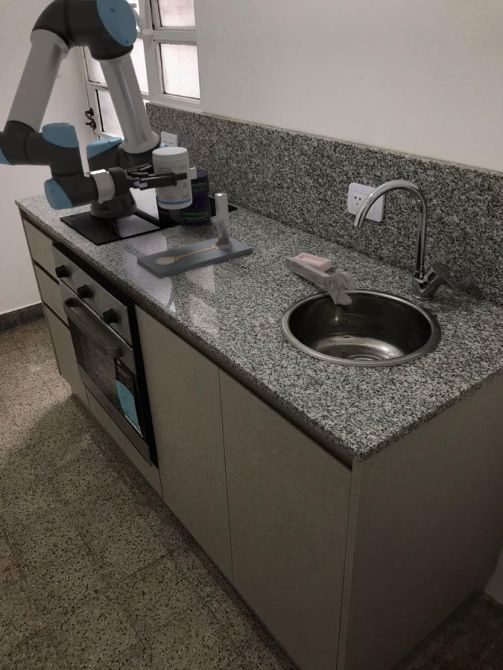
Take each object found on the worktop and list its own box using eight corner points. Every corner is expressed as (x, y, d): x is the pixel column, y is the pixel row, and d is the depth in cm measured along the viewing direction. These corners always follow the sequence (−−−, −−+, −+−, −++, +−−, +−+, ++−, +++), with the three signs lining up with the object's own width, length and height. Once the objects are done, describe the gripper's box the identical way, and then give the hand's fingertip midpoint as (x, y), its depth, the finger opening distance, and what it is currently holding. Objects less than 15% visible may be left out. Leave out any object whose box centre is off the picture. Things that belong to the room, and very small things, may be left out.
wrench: (291, 276, 143) (356, 312, 117) (285, 278, 142) (349, 314, 117) (290, 246, 140) (356, 275, 114) (283, 247, 139) (349, 277, 114)
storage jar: (176, 219, 177) (172, 172, 169) (206, 215, 180) (202, 168, 172) (184, 228, 169) (180, 179, 161) (215, 224, 172) (212, 175, 164)
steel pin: (212, 244, 153) (208, 194, 146) (226, 241, 155) (223, 191, 148) (221, 249, 150) (218, 198, 143) (235, 245, 152) (233, 194, 145)
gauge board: (137, 262, 146) (136, 257, 146) (226, 239, 160) (226, 234, 159) (159, 278, 137) (159, 273, 136) (252, 251, 151) (252, 247, 150)
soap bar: (320, 275, 137) (320, 266, 136) (290, 266, 142) (290, 258, 141) (332, 268, 140) (332, 259, 139) (302, 260, 145) (302, 251, 144)
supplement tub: (161, 200, 158) (154, 146, 150) (194, 199, 158) (189, 145, 150) (155, 211, 149) (148, 155, 142) (190, 210, 149) (185, 153, 142)
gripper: (95, 189, 150) (169, 175, 161) (129, 209, 134) (208, 191, 145) (90, 161, 146) (166, 148, 157) (124, 178, 130) (206, 162, 141)
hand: (186, 169), depth 151 cm, fingers closed on supplement tub, 9 cm apart
